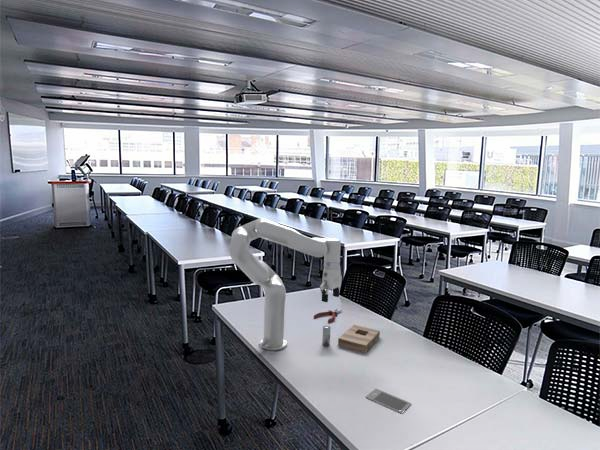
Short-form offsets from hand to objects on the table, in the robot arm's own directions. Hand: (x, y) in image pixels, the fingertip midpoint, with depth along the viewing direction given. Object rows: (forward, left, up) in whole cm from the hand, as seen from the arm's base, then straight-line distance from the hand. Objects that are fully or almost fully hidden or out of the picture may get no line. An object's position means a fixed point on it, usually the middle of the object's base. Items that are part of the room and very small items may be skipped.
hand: (330, 299), depth 195 cm
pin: (-3, 0, -22) cm, 22 cm away
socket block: (+10, -12, -22) cm, 27 cm away
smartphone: (-32, -40, -23) cm, 56 cm away
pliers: (+31, +13, -23) cm, 41 cm away
